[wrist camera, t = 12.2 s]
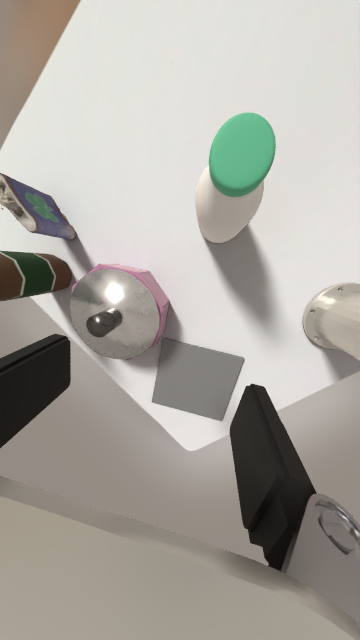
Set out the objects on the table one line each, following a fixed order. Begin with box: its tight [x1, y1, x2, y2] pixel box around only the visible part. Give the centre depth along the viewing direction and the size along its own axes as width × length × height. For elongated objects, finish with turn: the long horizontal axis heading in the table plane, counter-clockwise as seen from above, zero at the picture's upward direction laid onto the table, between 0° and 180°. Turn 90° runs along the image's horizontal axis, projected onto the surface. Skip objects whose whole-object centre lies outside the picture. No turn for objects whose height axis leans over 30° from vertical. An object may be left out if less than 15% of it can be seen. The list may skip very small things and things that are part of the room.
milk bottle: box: [195, 113, 276, 243], centre depth 22 cm, size 8×8×20 cm
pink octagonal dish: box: [72, 264, 169, 360], centre depth 36 cm, size 17×17×6 cm
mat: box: [152, 338, 244, 421], centre depth 42 cm, size 18×18×1 cm
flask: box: [0, 173, 76, 240], centre depth 30 cm, size 9×3×11 cm, turn 32°
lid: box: [70, 269, 160, 359], centre depth 30 cm, size 17×17×6 cm
